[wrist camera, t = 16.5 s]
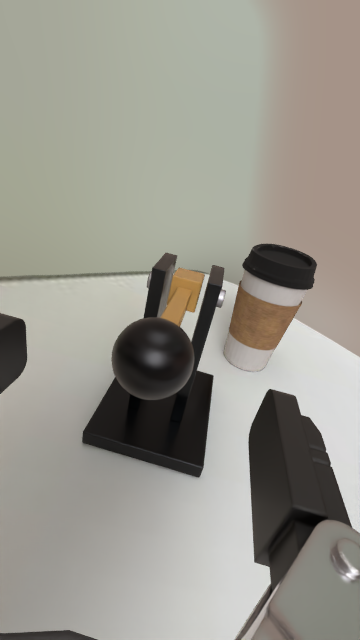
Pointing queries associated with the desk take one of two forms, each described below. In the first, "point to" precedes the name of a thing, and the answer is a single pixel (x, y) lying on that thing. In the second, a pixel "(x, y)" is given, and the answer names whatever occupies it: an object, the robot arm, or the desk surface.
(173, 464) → the black lever stand
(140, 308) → the desk surface
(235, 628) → the desk surface
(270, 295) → the coffee cup
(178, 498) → the desk surface
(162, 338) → the black ball knob lever
